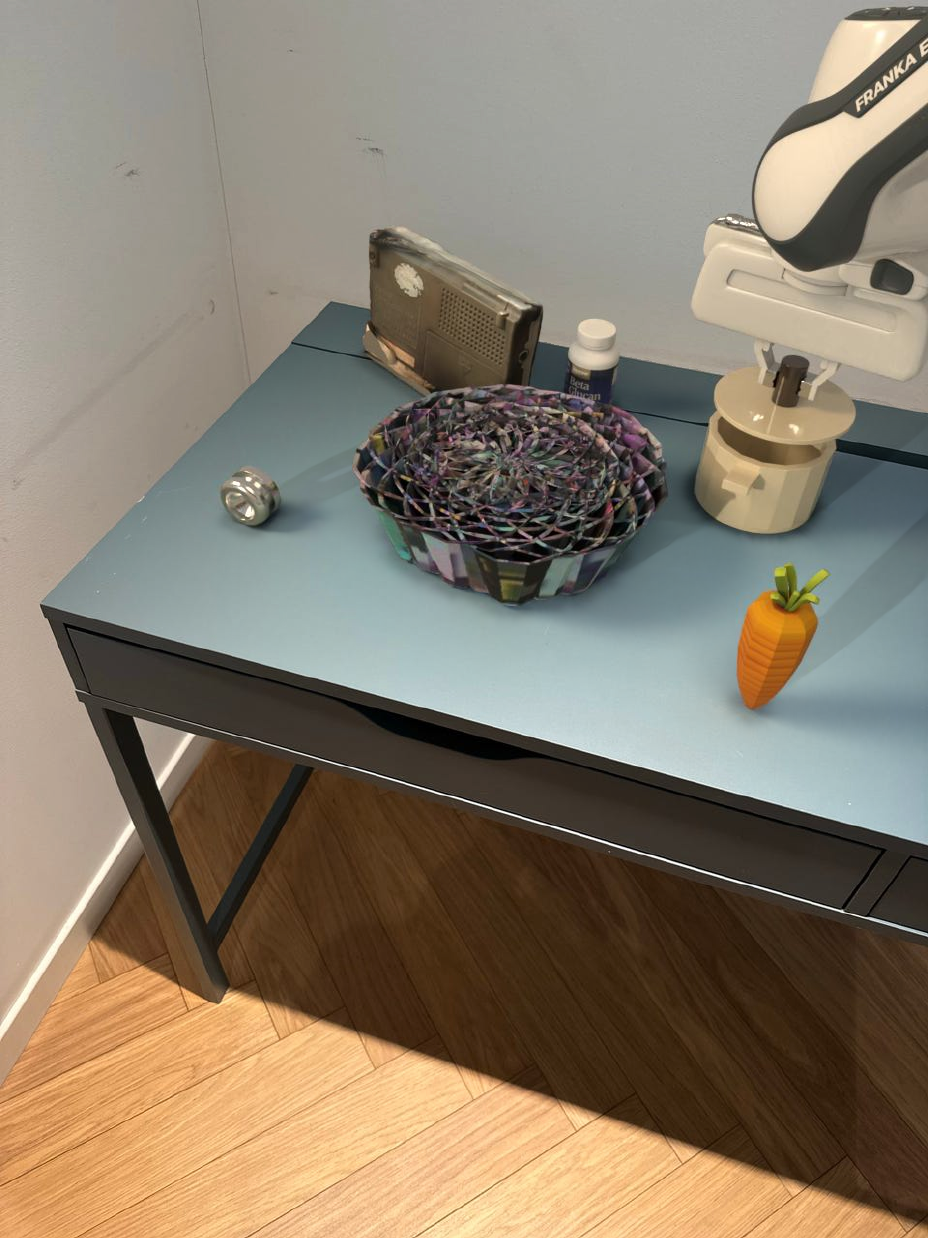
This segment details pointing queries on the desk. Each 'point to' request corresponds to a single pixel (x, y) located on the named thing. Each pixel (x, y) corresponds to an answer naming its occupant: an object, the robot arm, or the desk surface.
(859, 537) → the desk surface
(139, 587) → the desk surface
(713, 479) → the pot
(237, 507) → the metal grooved wheel
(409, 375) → the radio
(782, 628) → the carrot
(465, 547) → the decorative bowl
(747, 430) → the pot lid
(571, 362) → the pill bottle
